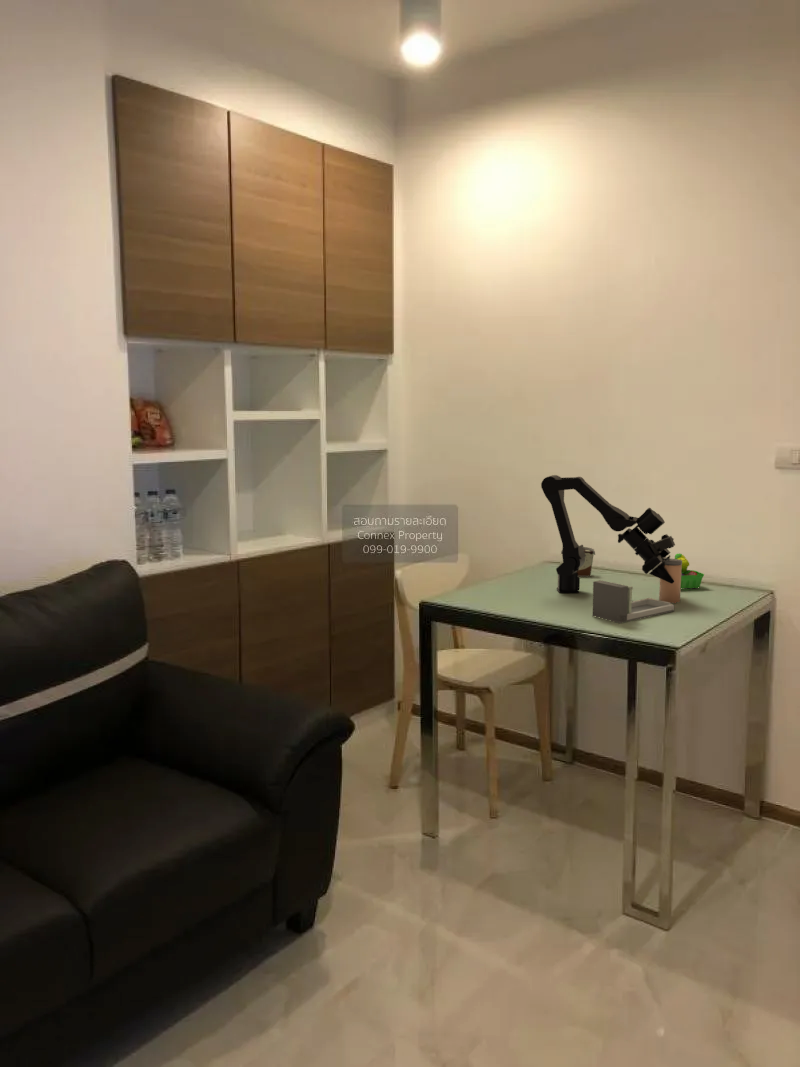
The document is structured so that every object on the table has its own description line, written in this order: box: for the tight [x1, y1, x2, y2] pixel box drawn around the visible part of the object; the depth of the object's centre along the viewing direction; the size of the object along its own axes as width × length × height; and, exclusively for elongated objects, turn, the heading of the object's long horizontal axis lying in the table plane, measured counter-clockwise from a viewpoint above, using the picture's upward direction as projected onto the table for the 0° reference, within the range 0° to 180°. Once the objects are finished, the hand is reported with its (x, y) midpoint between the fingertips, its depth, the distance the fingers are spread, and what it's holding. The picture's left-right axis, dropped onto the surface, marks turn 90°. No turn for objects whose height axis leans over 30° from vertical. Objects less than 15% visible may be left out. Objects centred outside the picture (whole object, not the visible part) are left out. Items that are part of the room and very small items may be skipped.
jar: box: [658, 558, 682, 604], centre depth 275 cm, size 7×7×13 cm
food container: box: [560, 546, 596, 577], centre depth 318 cm, size 12×6×10 cm, turn 84°
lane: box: [591, 579, 675, 624], centre depth 259 cm, size 24×10×10 cm, turn 125°
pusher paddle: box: [611, 582, 634, 614], centre depth 256 cm, size 1×8×9 cm, turn 35°
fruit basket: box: [674, 552, 705, 589], centre depth 295 cm, size 11×9×11 cm
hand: (674, 580), depth 275 cm, fingers closed on jar, 6 cm apart
